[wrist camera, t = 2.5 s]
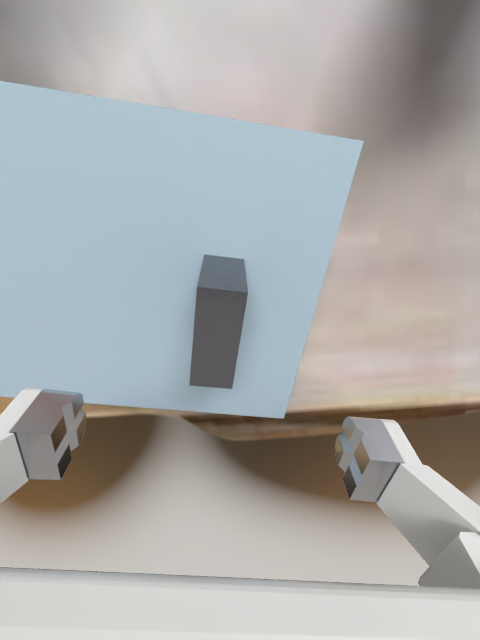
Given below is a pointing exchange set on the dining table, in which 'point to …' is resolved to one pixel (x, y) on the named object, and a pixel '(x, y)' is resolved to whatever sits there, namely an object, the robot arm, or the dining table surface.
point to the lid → (161, 251)
